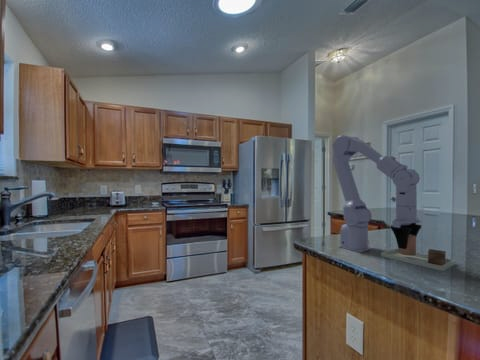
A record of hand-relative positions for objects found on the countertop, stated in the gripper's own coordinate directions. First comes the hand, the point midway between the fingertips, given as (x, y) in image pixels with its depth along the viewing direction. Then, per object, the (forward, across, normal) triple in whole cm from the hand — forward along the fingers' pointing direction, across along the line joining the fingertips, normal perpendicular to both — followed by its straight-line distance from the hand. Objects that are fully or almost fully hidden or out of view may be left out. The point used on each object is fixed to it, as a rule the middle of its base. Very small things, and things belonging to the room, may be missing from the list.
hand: (406, 247), depth 86 cm
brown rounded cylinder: (+2, 0, 0) cm, 2 cm away
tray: (+4, 0, -3) cm, 5 cm away
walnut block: (+4, 0, -8) cm, 9 cm away
